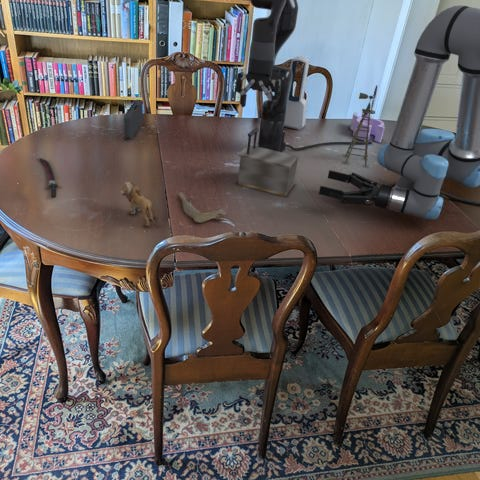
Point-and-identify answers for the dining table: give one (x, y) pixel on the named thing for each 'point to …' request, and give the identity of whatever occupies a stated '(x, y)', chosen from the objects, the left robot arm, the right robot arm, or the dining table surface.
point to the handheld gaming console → (133, 119)
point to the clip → (374, 127)
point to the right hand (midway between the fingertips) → (324, 181)
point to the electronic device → (297, 98)
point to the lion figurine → (137, 201)
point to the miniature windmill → (366, 112)
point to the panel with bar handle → (266, 153)
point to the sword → (52, 181)
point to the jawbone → (195, 213)
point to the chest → (266, 176)
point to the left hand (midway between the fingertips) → (255, 109)
